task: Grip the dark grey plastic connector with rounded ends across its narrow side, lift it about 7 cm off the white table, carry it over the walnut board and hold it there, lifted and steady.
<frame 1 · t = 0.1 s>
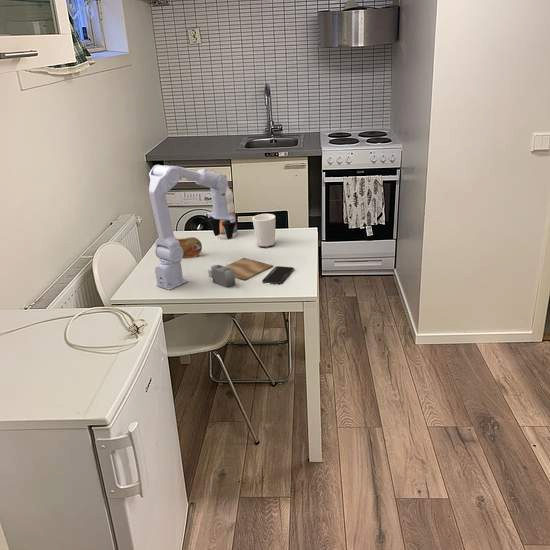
hand: (223, 236, 229), 10 cm above the table, tool pointing down, fingers open, 7 cm apart
fruit juice: (227, 236, 261), on the table
board: (244, 269, 222), on the table
tin: (185, 257, 240), on the table
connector: (224, 283, 210), on the table
cup: (266, 245, 245), on the table
phone: (278, 277, 213), on the table
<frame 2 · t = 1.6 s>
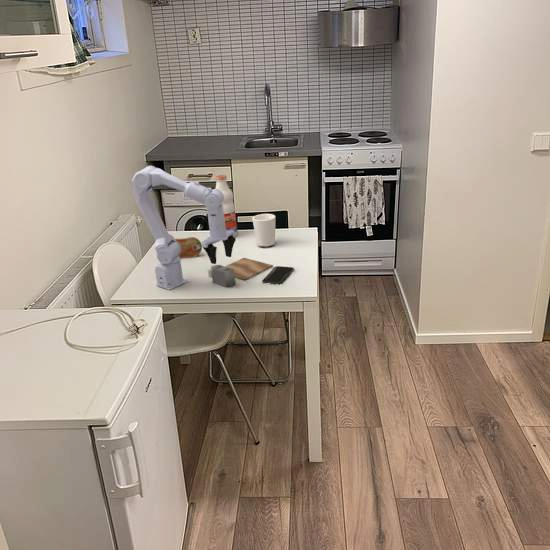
hand: (221, 259, 207), 9 cm above the table, tool pointing down, fingers open, 7 cm apart
nothing on the table moved.
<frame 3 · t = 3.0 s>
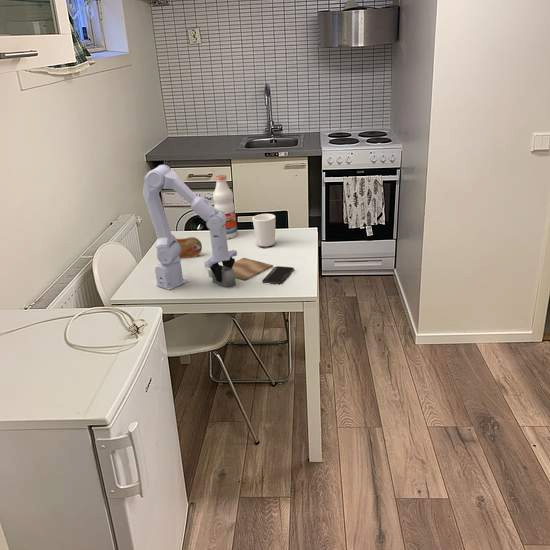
hand: (223, 279, 210), 2 cm above the table, tool pointing down, fingers closed on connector, 4 cm apart
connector: (224, 283, 210), on the table, touching gripper
everything else where it was.
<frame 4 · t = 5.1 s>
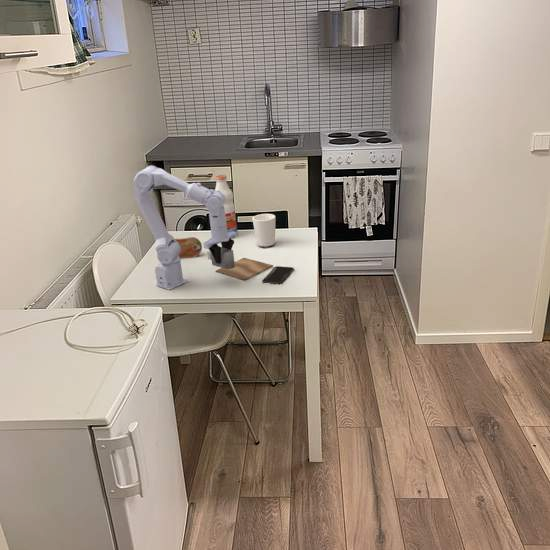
hand: (222, 261, 208), 9 cm above the table, tool pointing down, fingers closed on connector, 4 cm apart
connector: (223, 265, 208), point 7 cm above the table, touching gripper
everything else where it was.
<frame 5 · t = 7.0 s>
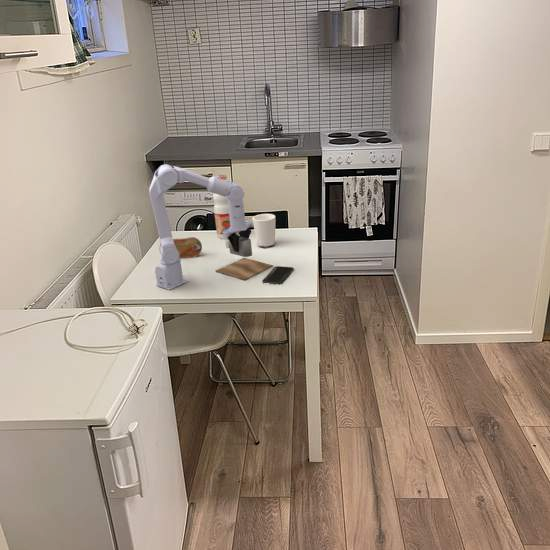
hand: (240, 249, 218), 9 cm above the table, tool pointing down, fingers closed on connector, 4 cm apart
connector: (241, 253, 218), point 7 cm above the table, touching gripper
everything else where it was.
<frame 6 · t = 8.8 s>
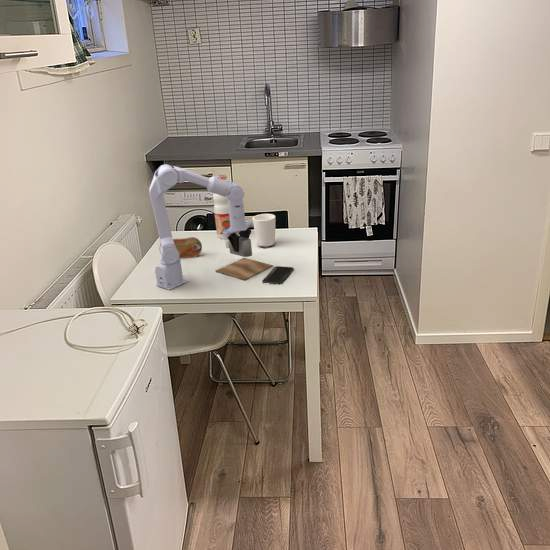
hand: (240, 249, 218), 9 cm above the table, tool pointing down, fingers closed on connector, 4 cm apart
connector: (241, 253, 218), point 7 cm above the table, touching gripper
everything else where it was.
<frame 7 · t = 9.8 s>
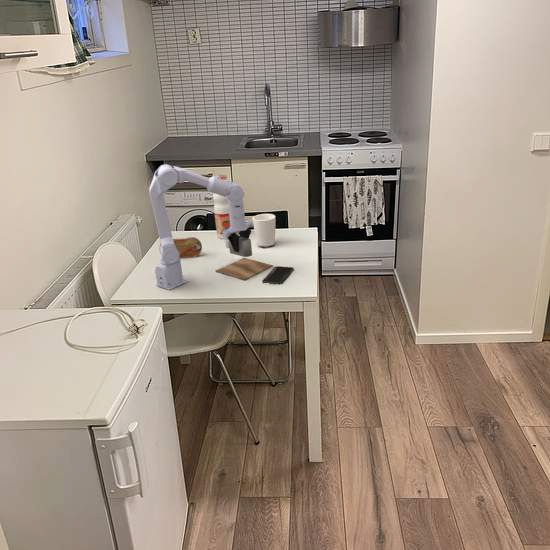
hand: (240, 249, 218), 9 cm above the table, tool pointing down, fingers closed on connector, 4 cm apart
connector: (241, 253, 218), point 7 cm above the table, touching gripper
everything else where it was.
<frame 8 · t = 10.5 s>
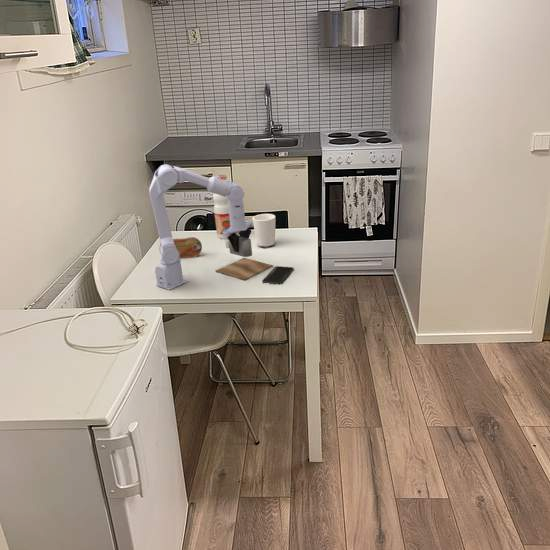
hand: (240, 249, 218), 9 cm above the table, tool pointing down, fingers closed on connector, 4 cm apart
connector: (241, 253, 218), point 7 cm above the table, touching gripper
everything else where it was.
at the end: the gripper is holding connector; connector inside the target area on the board (1.0 cm from its centre), point 7.0 cm above the board's base; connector tilted 0° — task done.
